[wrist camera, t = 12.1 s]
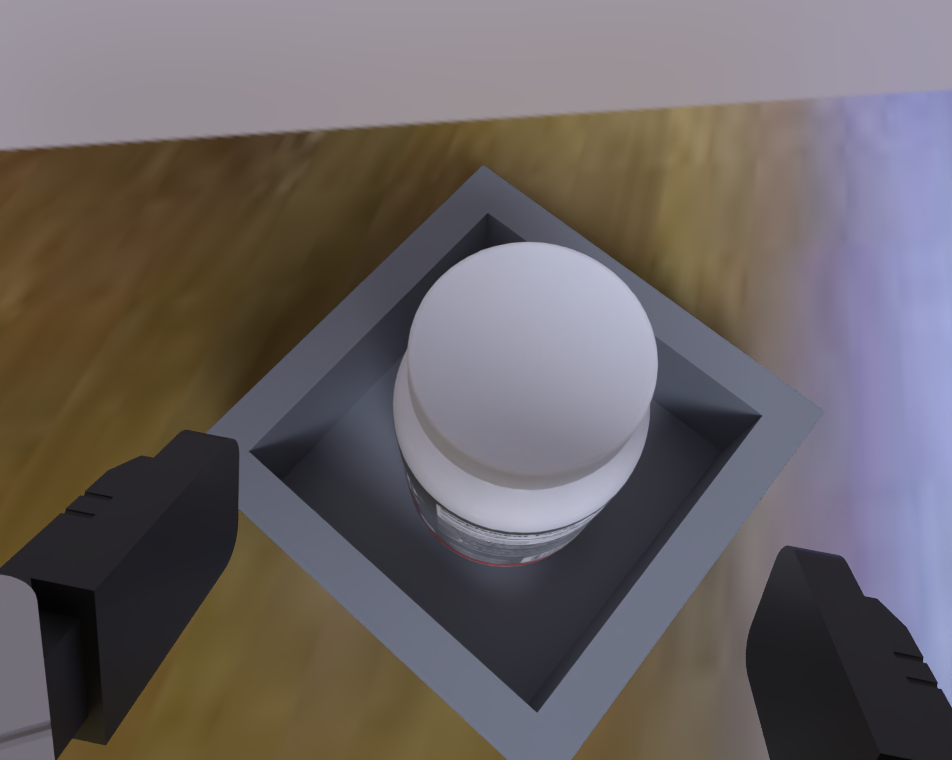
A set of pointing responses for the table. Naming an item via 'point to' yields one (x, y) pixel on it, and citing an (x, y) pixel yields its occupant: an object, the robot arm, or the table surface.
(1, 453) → the table surface
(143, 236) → the table surface
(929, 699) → the robot arm
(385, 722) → the table surface
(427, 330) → the pill bottle
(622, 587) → the bin
